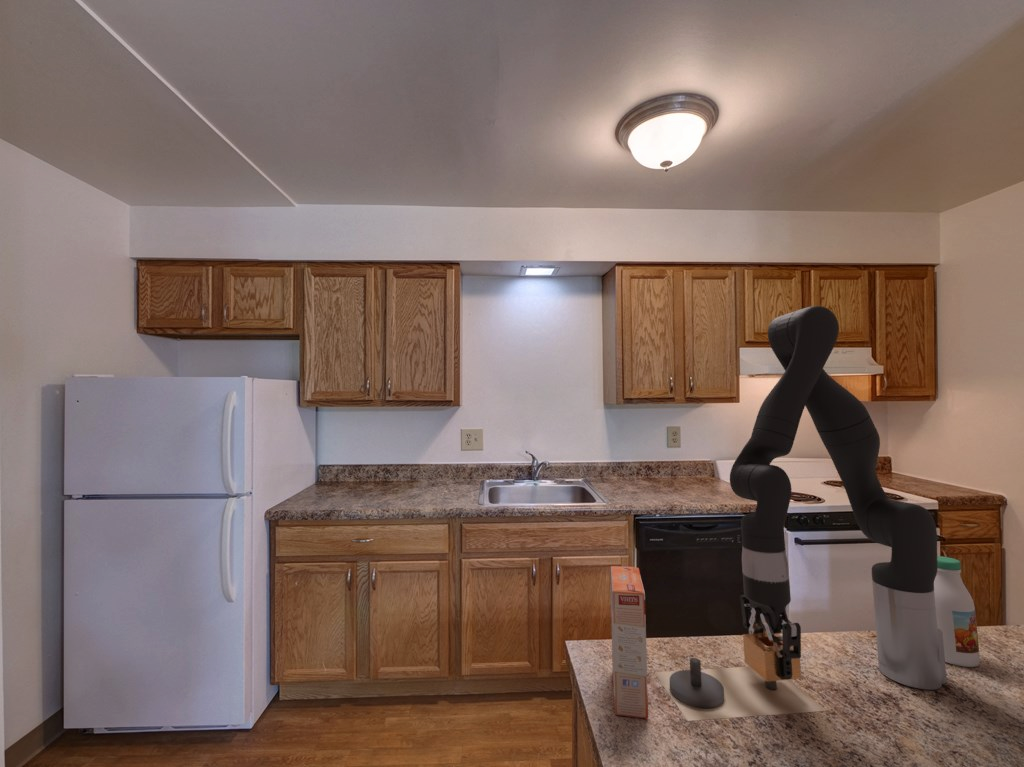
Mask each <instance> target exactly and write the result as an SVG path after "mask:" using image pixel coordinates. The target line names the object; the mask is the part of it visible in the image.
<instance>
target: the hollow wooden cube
mask: <svg viewBox="0 0 1024 767" xmlns="http://www.w3.org/2000/svg"><path fill="white" fill-rule="evenodd" d="M774 635H775V636H776V637H781V636H782V635H780V633H777V634H774ZM742 637H743V639H742V640H743V654H744V657H743V658H744V663H746V665H748V667H749V666H750V667H751V668H752V669H753V670H754V671H756V672H757V673H758V674H759V675H760V676H761V677H762V678H763V679H764V680H765V681H779V680H782V679H781V678H779V677H778V672H777V658H776V656H777V654H776V651H775V648H774V645H773V643H772V642H770V641H769V638H768V635H767V632H766V631H765V633H753V634H749V633H743V634H742ZM779 644H780V647H781V649H783V642H782V641H780V642H779ZM791 647H792V650H793V646H791ZM791 662H792V678H791V679H785V680H791V681H792V680H801V679H802V671H801V670H802V668H801V658H797V659H791Z"/></svg>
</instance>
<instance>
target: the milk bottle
mask: <svg viewBox="0 0 1024 767" xmlns="http://www.w3.org/2000/svg"><path fill="white" fill-rule="evenodd" d="M937 566H938V568H937V574H936V577H935V580H934V595H935V606H936V618H937V628H938V629H940V630H941V631H942V633H943V643H944V655H945V663H947V664H951V665H955V666H958V667H959V666H960V667H966V668H975V667H978V666H980V662H981V659H980V648H979V647H980V646H979V634H978V625H977V624H978V623H977V616H976V608H975V604H974V600H973V597H972V595H971V594H970V592H969V590H968V588H967V587H966V586H965V584H964V582H963V579H962V577H961V573H962V570H961V569H962V564H961V561H960V560H958V559H956V558H951V557H947V556H940V555H939V556H938V555H937Z"/></svg>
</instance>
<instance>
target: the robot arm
mask: <svg viewBox="0 0 1024 767" xmlns="http://www.w3.org/2000/svg"><path fill="white" fill-rule="evenodd" d="M839 326H840V324H839V320H838V318H837V317H836V315H835V313H834V312H833V311H832V310H830V309H829V308H828V307H826V306H821V305H812V306H807V307H804V308H801V309H798V310H794V311H792V312H789V313H785V314H782V315H780V316H777V317H776V318H773V319H772V321H771V322H770V323H769V325H768V326H767V327H768V328H767V339H768V343H769V345H770V348H771V350H772V352H773V354H774V355H775V357H776V358H777V360H778V362H779V363H780V365H781V366H782V368H783V370H784V373H783V374H782V376H781V377H780V378H779V379H778V381H777V382H776V383H775V385H774V386H773V388H772V389H771V391H769V393H768V394H767V395H766V397H765V398H764V400H763V402H762V404H761V405H760V408H759V410H758V413H757V416H756V419H755V422H754V425H753V428H752V432H751V436H750V438H749V440H748V441H747V442H746V444H745V445H744V446H743V448H742V450H741V451H740V453H739V455H737V457H736V459H735V461H734V462H733V465H732V467H731V468H730V469H731V470H730V472H729V485H730V488H731V490H732V491H733V493H734V494H735V495H736V496H738V497H739V498H742V499H744V500H749V501H754V502H756V508H755V511H754V512H750V513H746V514H744V515H743V516H742V518H741V521H740V531H741V532H740V533H741V543H742V544H741V546H742V547H741V548H742V551H741V567H742V568H741V570H742V581H743V582H742V583H743V584H742V585H743V594H741V595H739V601H740V609H741V617H742V626H743V627H744V628H745V629H748V634H753V633H766V632H767V635H768V638H769V641H770V642H772V643H773V645H774V648H775V651H776V654H777V656H776V658H777V672H778V677H779V678H781V679H782V680H785V679H791V678H792V662H791V659H797V658H800V659H801V658H802V646H801V645H802V628H801V625H800V623H799V622H792V621H790V620H789V618H788V615H787V612H786V608H787V606H788V605H789V604H790V603H791V601H792V600H791V599H792V598H791V585H790V571H789V561H788V557H787V556H788V555H787V551H786V540H785V525H786V524H785V523H786V519H787V516H788V511H789V507H790V502H791V498H792V483H791V480H790V477H789V476H788V474H787V472H786V471H785V470H784V469H783V468H781V467H780V466H778V465H774V464H772V461H774V460H775V459H777V458H781V457H784V456H787V455H789V454H790V453H791V451H792V449H793V445H794V442H795V440H796V439H795V438H796V436H797V432H798V428H799V426H800V421H801V418H802V416H803V412H804V409H805V408H806V409H807V410H806V411H807V412H808V413H809V416H810V418H811V420H812V421H813V422H812V423H813V425H814V426H815V430H816V432H817V433H818V435H819V438H820V439H821V442H822V443H823V446H824V447H825V449H826V450H827V452H828V454H829V456H830V459H831V460H832V462H833V463H832V464H833V465H834V468H835V469H836V471H837V475H838V476H839V477H840V478H839V479H840V480H841V483H842V484H843V488H844V490H845V493H846V495H847V498H848V501H849V504H850V507H851V510H852V513H853V515H854V518H855V520H856V521H855V522H856V523H857V525H858V527H859V529H860V531H861V532H862V534H864V535H863V536H865V537H867V539H869V540H871V541H872V542H874V543H876V544H879V545H883V546H886V547H890V548H891V555H890V556H891V557H890V561H889V562H888V561H885V562H876V563H874V564H873V565H871V566H872V567H871V578H872V579H871V582H872V594H873V608H874V610H873V611H874V623H875V635H876V649H877V650H876V652H877V661H878V662H877V663H878V670H879V672H880V673H882V675H884V676H886V678H888V679H890V680H892V681H895V682H896V683H899V684H902V685H903V686H907V687H910V688H915V689H921V690H931V691H932V690H938V689H940V688H942V685H944V684H947V683H948V682H947V681H948V680H947V670H946V662H945V655H944V643H943V633H942V631H941V630H940V629H938V628H937V618H936V606H935V595H934V580H935V577H936V574H937V568H938V566H937V556H938V532H937V527H936V526H937V525H936V523H935V520H934V517H933V515H932V514H931V512H930V511H929V510H928V509H926V508H925V507H924V506H921V505H919V504H915V503H911V502H906V501H900V500H896V499H891V498H890V497H888V495H887V494H886V492H885V490H884V489H883V487H882V484H881V482H880V480H879V477H878V474H877V463H878V458H879V453H880V447H881V439H880V435H879V432H878V429H877V428H876V426H875V423H874V421H873V420H872V418H871V415H870V414H869V411H868V409H867V408H866V406H865V405H864V404H863V403H862V401H860V399H859V398H857V397H856V396H855V395H854V394H853V393H852V392H850V391H849V390H847V388H846V387H844V386H843V385H841V384H840V383H838V382H837V381H836V380H835V379H833V378H832V377H831V376H830V375H829V373H828V372H826V370H825V369H824V367H825V365H826V364H827V361H828V360H829V357H830V355H831V353H832V351H833V350H834V347H835V345H836V342H837V340H838V337H839V332H840V327H839ZM749 616H750V618H749ZM777 633H778V634H781V633H782V635H780V636H781V637H776V636H775V635H774V634H777ZM780 641H782V642H783V649H781V647H780V644H779V642H780ZM791 646H793V650H792V647H791ZM791 680H792V679H791Z"/></svg>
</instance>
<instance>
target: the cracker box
mask: <svg viewBox="0 0 1024 767" xmlns="http://www.w3.org/2000/svg"><path fill="white" fill-rule="evenodd" d="M640 572H641V571H640V568H639V567H636V566H620V565H611V566H610V607H611V608H610V612H611V615H610V616H611V655H612V656H611V658H612V660H611V661H612V664H611V665H612V685H613V686H612V688H613V691H612V692H613V701H614V702H613V704H614V705H613V706H614V715H615V716H623V717H632V718H637V719H638V718H639V719H648V718H649V702H648V701H649V700H648V697H649V695H648V693H649V692H648V669H647V668H648V665H647V664H648V660H647V659H648V658H647V630H646V629H647V624H646V620H647V619H646V616H647V615H646V593H645V589H644V584H643V581H642V577H641V573H640Z"/></svg>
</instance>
